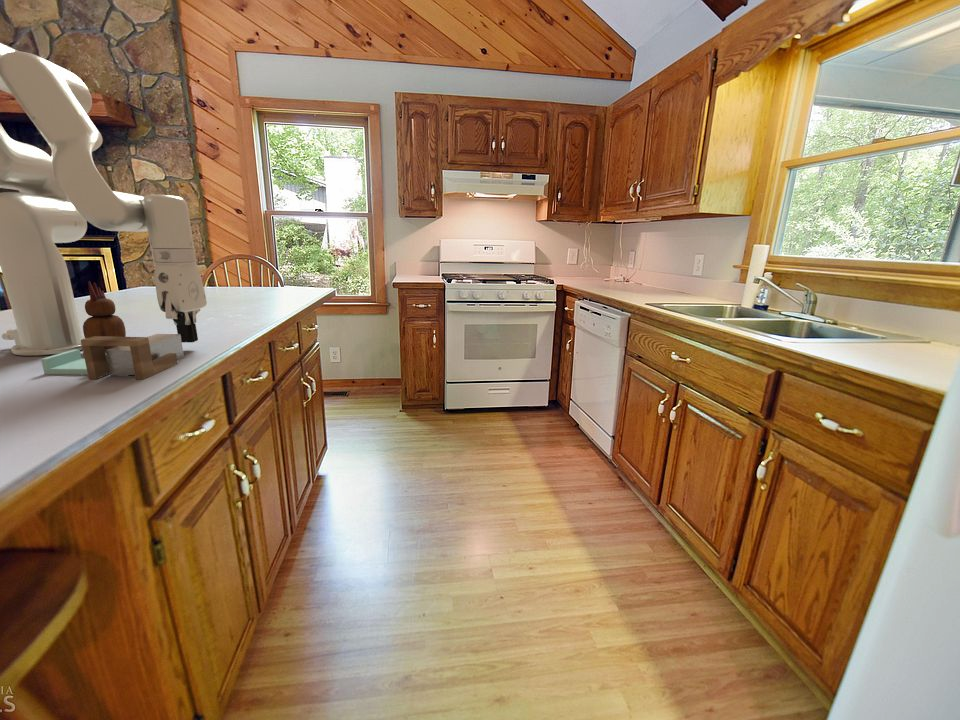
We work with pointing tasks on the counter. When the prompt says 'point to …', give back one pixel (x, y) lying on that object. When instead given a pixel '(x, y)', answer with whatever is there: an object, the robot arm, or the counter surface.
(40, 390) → the counter surface
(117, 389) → the counter surface
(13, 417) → the counter surface
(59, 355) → the cradle
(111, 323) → the wooden figurine
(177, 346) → the bar
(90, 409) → the counter surface
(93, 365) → the brown wooden stepped stand
